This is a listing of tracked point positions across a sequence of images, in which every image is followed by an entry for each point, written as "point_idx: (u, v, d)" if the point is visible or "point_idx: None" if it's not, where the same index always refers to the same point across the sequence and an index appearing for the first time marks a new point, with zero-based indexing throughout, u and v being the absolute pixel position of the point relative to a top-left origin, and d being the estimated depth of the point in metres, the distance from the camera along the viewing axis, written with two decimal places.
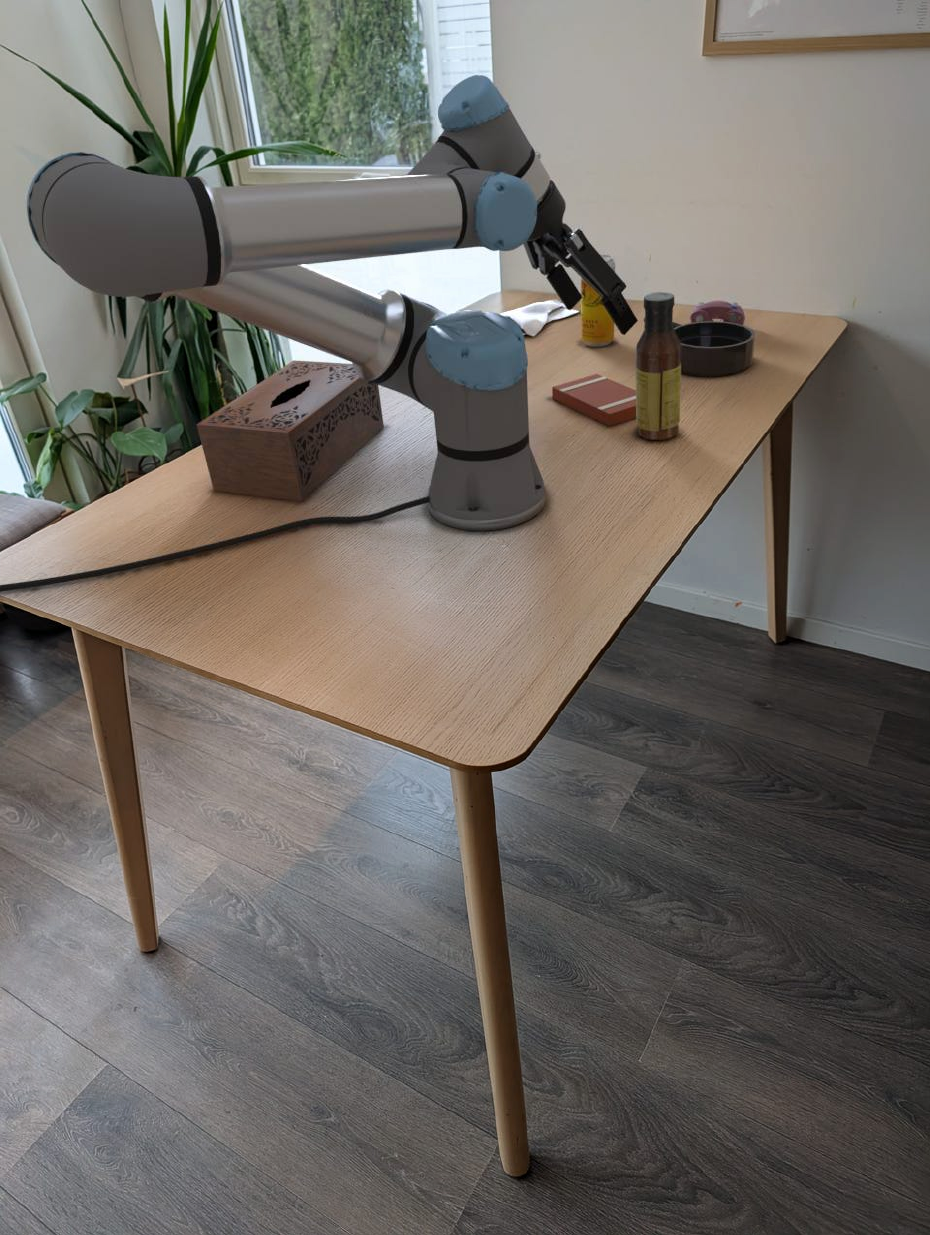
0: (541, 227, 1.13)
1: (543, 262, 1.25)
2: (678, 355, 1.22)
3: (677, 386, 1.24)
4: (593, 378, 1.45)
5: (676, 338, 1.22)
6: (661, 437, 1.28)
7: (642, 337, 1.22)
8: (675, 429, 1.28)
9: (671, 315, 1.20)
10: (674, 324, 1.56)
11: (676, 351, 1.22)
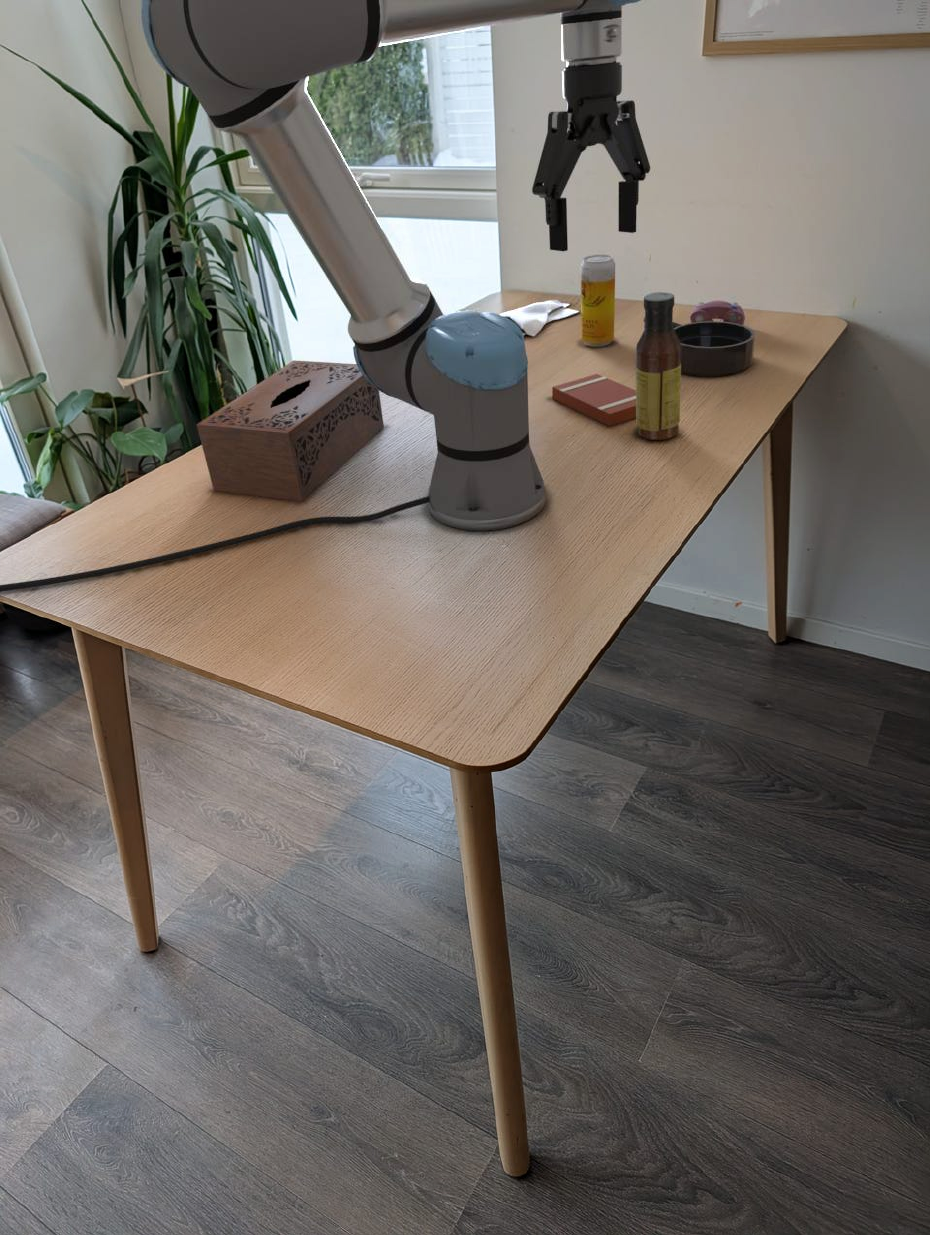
0: (564, 88, 1.14)
1: (612, 156, 1.22)
2: (678, 355, 1.22)
3: (677, 386, 1.24)
4: (593, 378, 1.45)
5: (676, 338, 1.22)
6: (661, 437, 1.28)
7: (642, 337, 1.22)
8: (675, 429, 1.28)
9: (671, 315, 1.20)
10: (674, 324, 1.56)
11: (676, 351, 1.22)
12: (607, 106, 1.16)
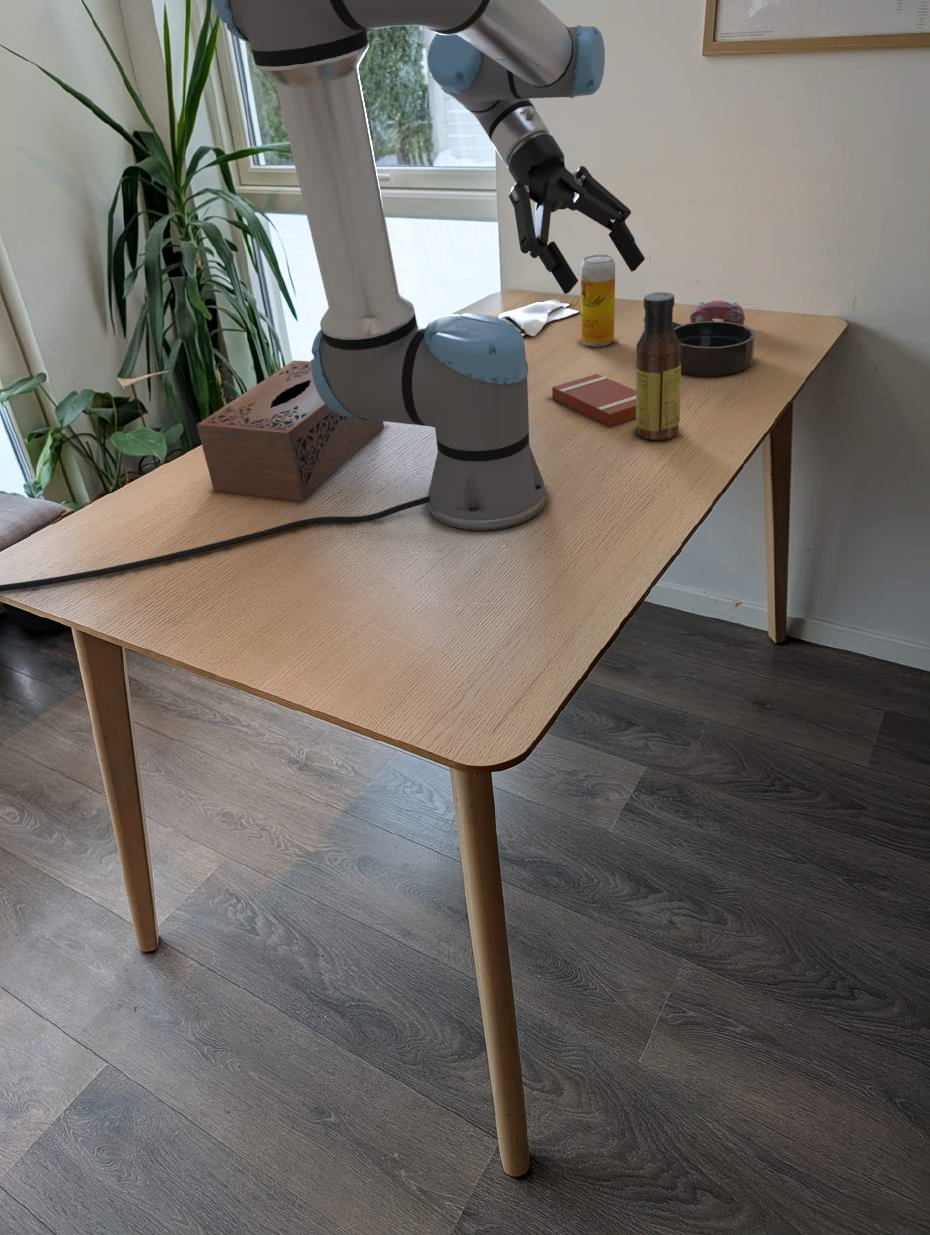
0: (515, 178, 1.26)
1: (589, 216, 1.30)
2: (678, 355, 1.22)
3: (677, 386, 1.24)
4: (593, 378, 1.45)
5: (676, 338, 1.22)
6: (661, 437, 1.28)
7: (642, 337, 1.22)
8: (675, 429, 1.28)
9: (671, 315, 1.20)
10: (674, 324, 1.56)
11: (676, 351, 1.22)
12: (559, 173, 1.26)
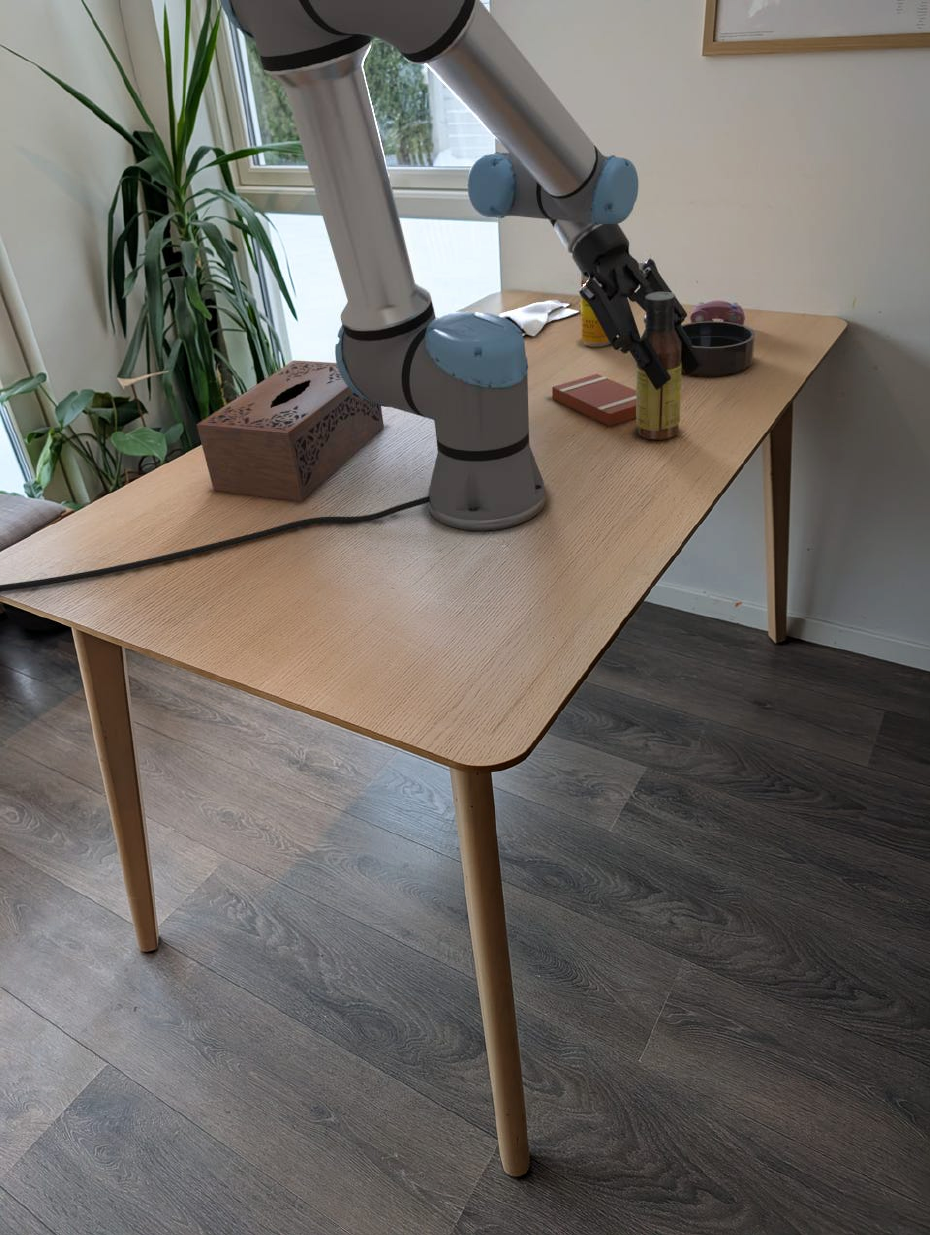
0: (579, 266, 1.24)
1: None
2: (679, 355, 1.22)
3: (677, 386, 1.24)
4: (593, 378, 1.45)
5: (677, 338, 1.22)
6: (661, 437, 1.28)
7: (643, 336, 1.22)
8: (675, 429, 1.28)
9: (672, 314, 1.20)
10: None
11: (677, 351, 1.22)
12: (624, 257, 1.24)
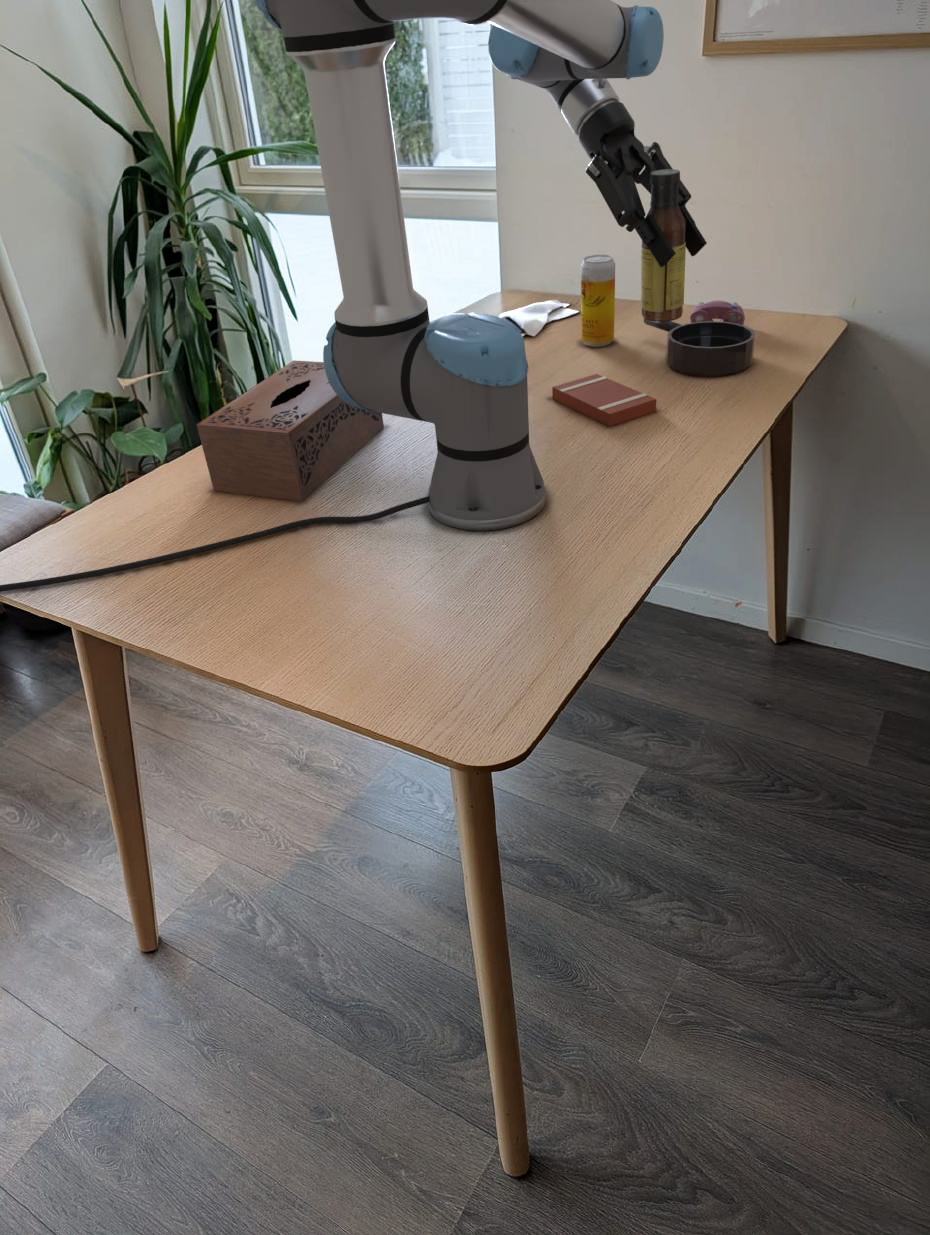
0: (586, 147, 1.26)
1: None
2: (683, 233, 1.25)
3: (681, 265, 1.27)
4: (593, 378, 1.45)
5: (681, 215, 1.24)
6: (666, 318, 1.30)
7: None
8: (679, 311, 1.31)
9: (677, 190, 1.22)
10: (674, 324, 1.56)
11: (681, 228, 1.24)
12: (629, 138, 1.27)
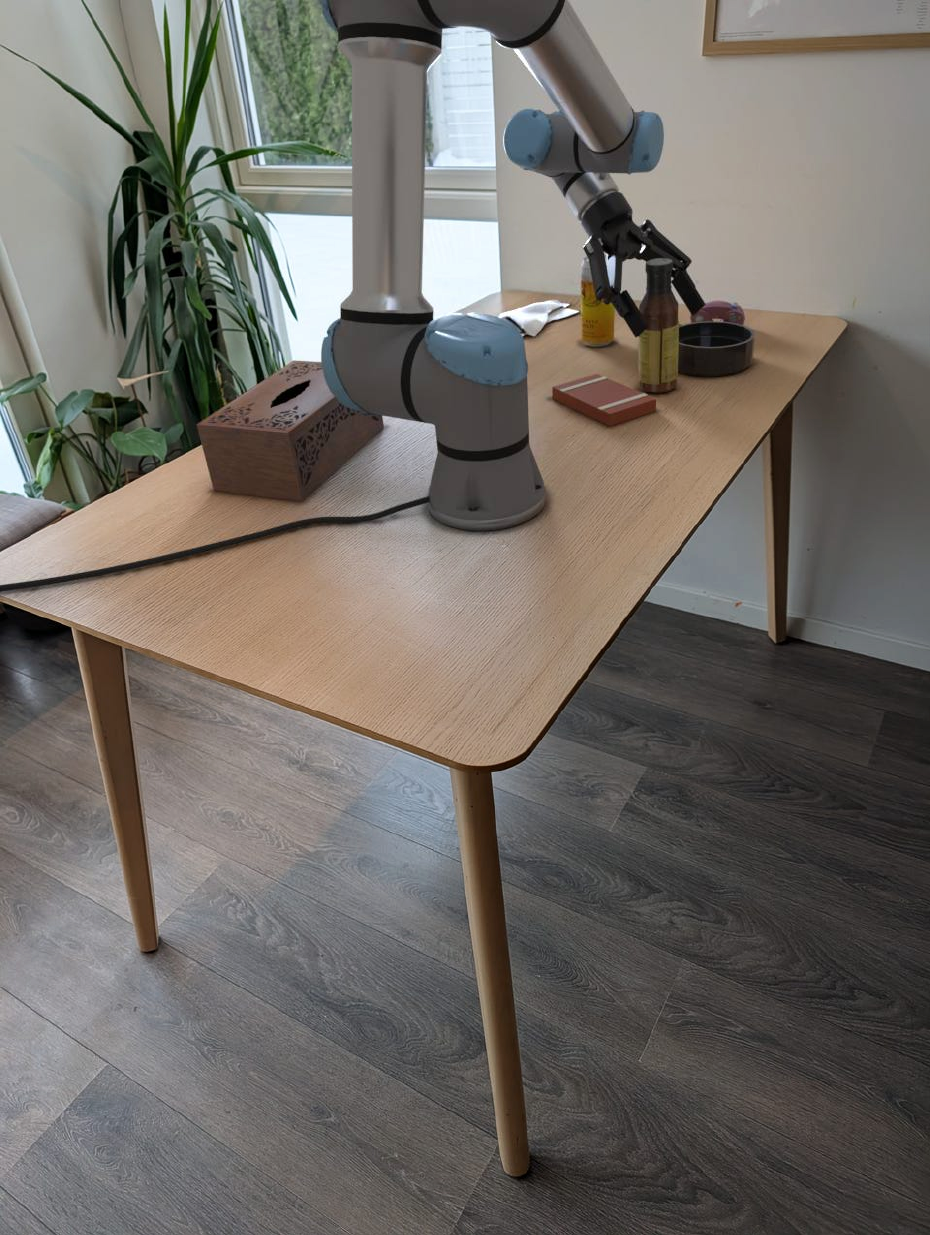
0: (588, 231, 1.38)
1: None
2: (676, 315, 1.37)
3: (675, 343, 1.39)
4: (593, 378, 1.45)
5: (674, 299, 1.37)
6: (661, 390, 1.43)
7: (644, 299, 1.37)
8: (673, 383, 1.43)
9: (670, 278, 1.35)
10: None
11: (674, 311, 1.36)
12: (627, 226, 1.38)
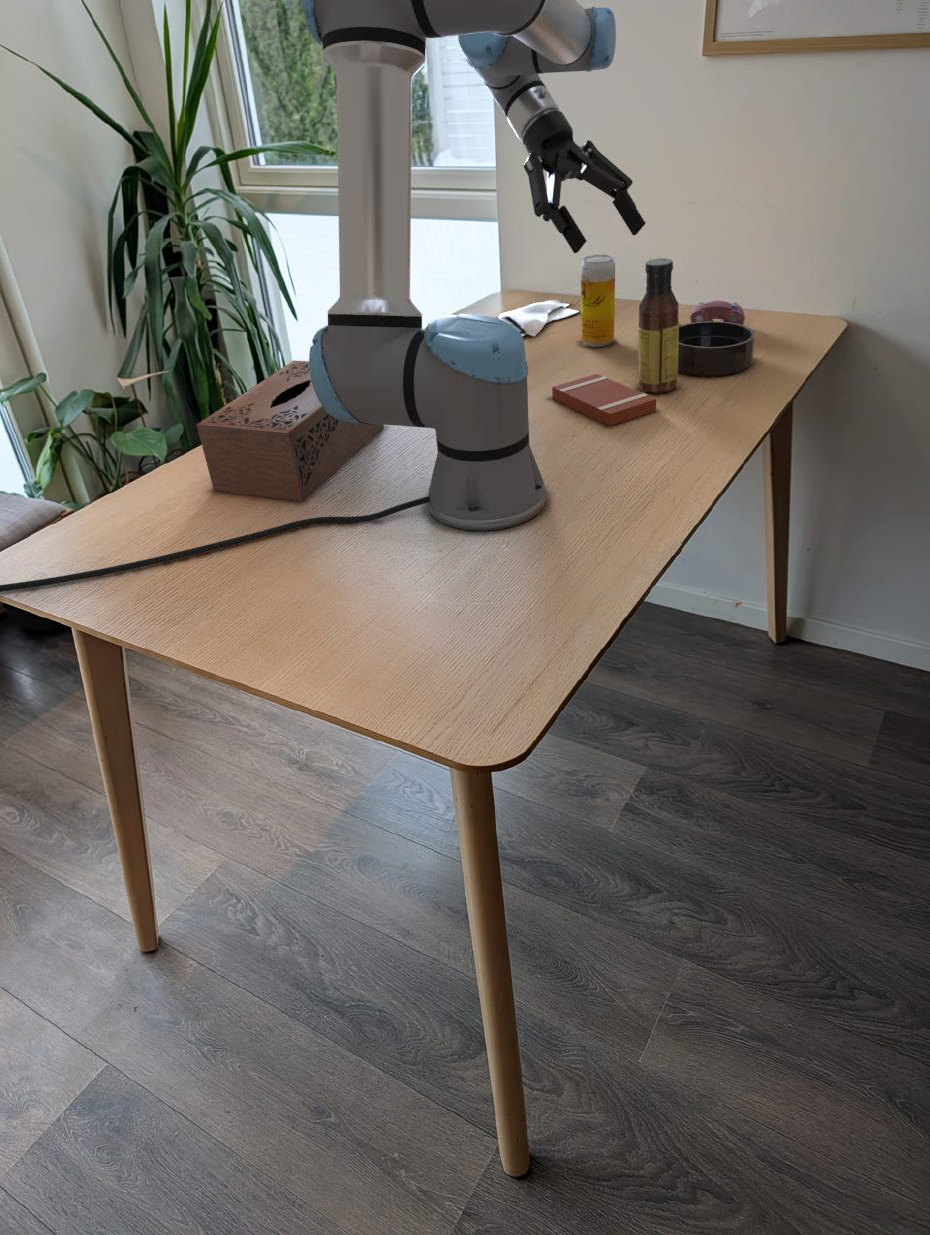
0: (529, 151, 1.41)
1: (595, 186, 1.44)
2: (676, 315, 1.37)
3: (675, 343, 1.39)
4: (593, 378, 1.45)
5: (674, 299, 1.37)
6: (661, 390, 1.43)
7: (644, 299, 1.37)
8: (673, 383, 1.43)
9: (670, 278, 1.35)
10: None
11: (674, 311, 1.36)
12: (568, 146, 1.41)
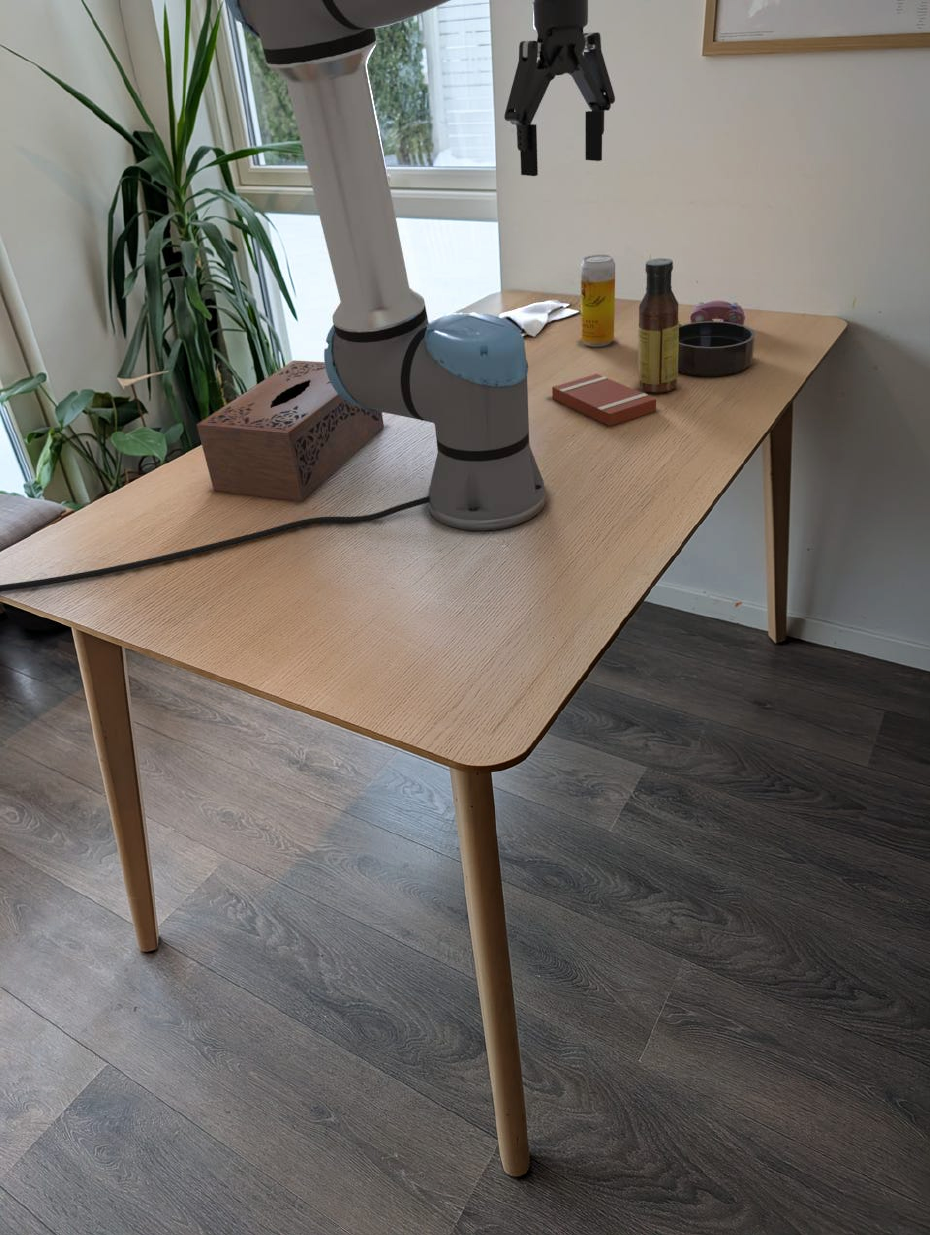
0: (534, 19, 1.22)
1: (579, 86, 1.31)
2: (676, 315, 1.37)
3: (675, 343, 1.39)
4: (593, 378, 1.45)
5: (674, 299, 1.37)
6: (661, 390, 1.43)
7: (644, 299, 1.37)
8: (673, 383, 1.43)
9: (670, 278, 1.35)
10: None
11: (674, 311, 1.36)
12: (574, 37, 1.24)
